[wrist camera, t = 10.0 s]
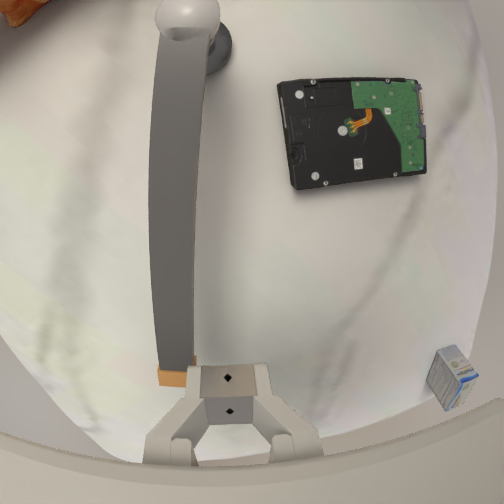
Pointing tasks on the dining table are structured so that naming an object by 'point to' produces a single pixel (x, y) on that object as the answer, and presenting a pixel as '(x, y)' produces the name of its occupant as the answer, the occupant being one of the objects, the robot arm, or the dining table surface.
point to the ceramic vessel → (20, 10)
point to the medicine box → (451, 377)
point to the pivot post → (219, 49)
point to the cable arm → (176, 176)
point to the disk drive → (352, 129)
